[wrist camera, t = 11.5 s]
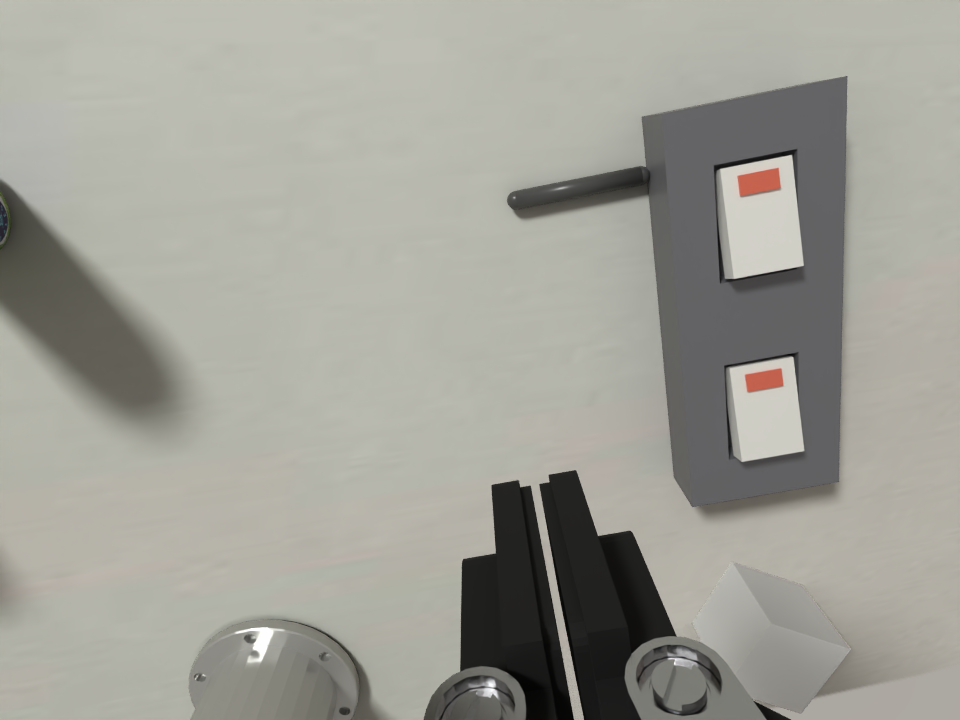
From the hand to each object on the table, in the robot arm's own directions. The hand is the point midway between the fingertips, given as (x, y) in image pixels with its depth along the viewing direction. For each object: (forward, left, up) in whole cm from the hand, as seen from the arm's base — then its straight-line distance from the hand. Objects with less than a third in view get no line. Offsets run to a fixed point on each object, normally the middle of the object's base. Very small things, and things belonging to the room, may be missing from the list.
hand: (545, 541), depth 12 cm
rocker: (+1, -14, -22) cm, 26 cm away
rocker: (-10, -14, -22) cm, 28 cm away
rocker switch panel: (-4, -10, -25) cm, 27 cm away
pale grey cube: (-28, -14, -25) cm, 40 cm away
